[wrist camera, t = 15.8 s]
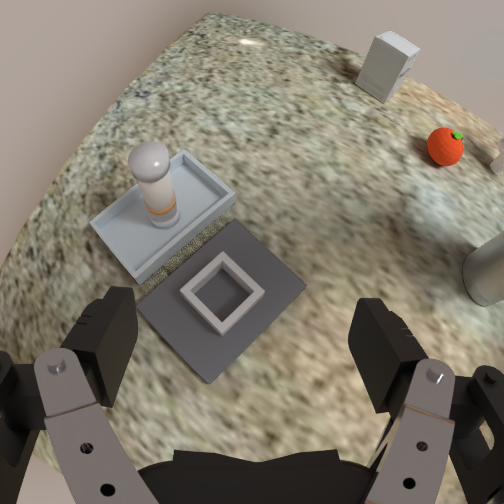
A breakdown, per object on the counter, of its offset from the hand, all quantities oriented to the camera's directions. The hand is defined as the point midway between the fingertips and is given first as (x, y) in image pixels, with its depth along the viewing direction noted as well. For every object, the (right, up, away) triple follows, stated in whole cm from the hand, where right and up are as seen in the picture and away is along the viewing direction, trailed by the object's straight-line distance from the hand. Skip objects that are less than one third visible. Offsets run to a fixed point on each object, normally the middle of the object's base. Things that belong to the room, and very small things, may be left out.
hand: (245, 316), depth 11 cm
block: (-3, -3, +26) cm, 27 cm away
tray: (-11, +7, +30) cm, 32 cm away
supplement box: (+26, +35, +45) cm, 63 cm away
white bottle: (-11, +7, +29) cm, 32 cm away
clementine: (+34, +20, +40) cm, 56 cm away
